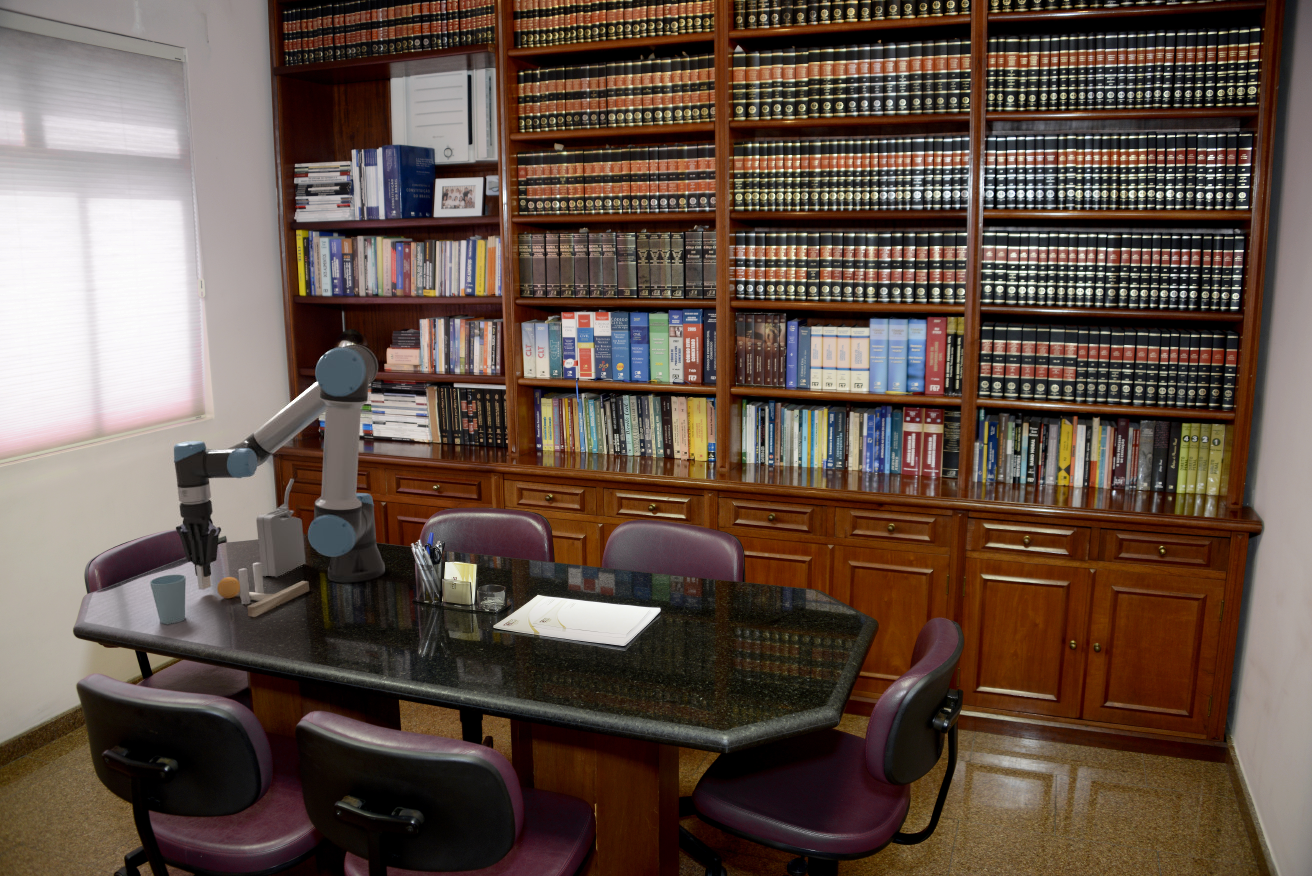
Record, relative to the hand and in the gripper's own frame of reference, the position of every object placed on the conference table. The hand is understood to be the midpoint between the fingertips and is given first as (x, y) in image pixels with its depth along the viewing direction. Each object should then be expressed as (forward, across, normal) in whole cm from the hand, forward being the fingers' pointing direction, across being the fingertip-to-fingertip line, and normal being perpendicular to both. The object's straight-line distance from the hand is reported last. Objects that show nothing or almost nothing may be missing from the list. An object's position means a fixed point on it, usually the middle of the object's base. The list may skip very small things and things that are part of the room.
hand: (204, 587), depth 245 cm
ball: (-1, +8, 0) cm, 8 cm away
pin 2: (+2, +16, +2) cm, 16 cm away
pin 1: (+2, +16, -2) cm, 16 cm away
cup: (+2, +6, -17) cm, 19 cm away
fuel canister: (+2, +6, +24) cm, 25 cm away
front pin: (+1, +12, 0) cm, 12 cm away
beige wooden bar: (+2, +24, 0) cm, 24 cm away
